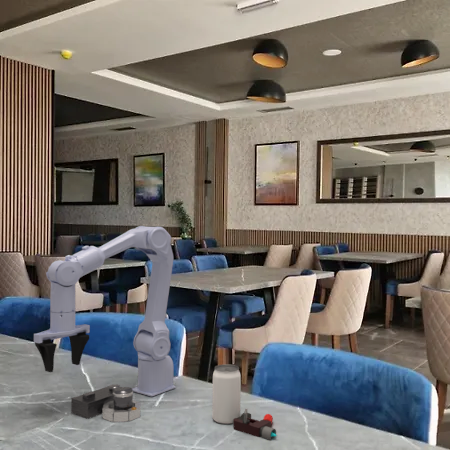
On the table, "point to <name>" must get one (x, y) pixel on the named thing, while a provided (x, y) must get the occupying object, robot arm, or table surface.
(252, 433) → the toy gun
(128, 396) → the lens
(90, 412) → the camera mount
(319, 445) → the table surface
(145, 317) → the robot arm
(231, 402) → the can
